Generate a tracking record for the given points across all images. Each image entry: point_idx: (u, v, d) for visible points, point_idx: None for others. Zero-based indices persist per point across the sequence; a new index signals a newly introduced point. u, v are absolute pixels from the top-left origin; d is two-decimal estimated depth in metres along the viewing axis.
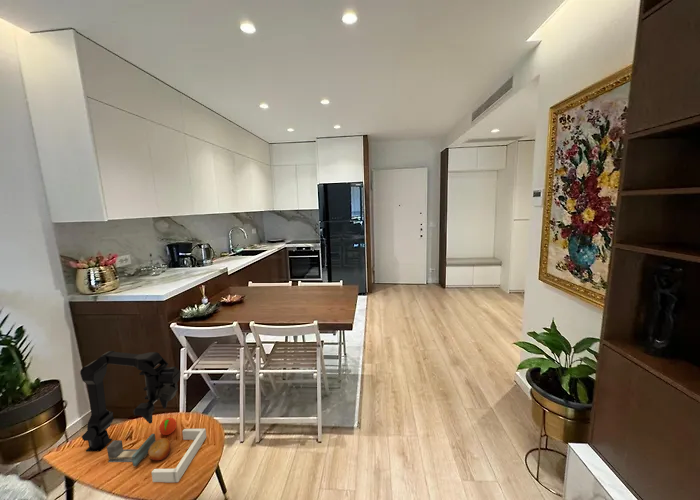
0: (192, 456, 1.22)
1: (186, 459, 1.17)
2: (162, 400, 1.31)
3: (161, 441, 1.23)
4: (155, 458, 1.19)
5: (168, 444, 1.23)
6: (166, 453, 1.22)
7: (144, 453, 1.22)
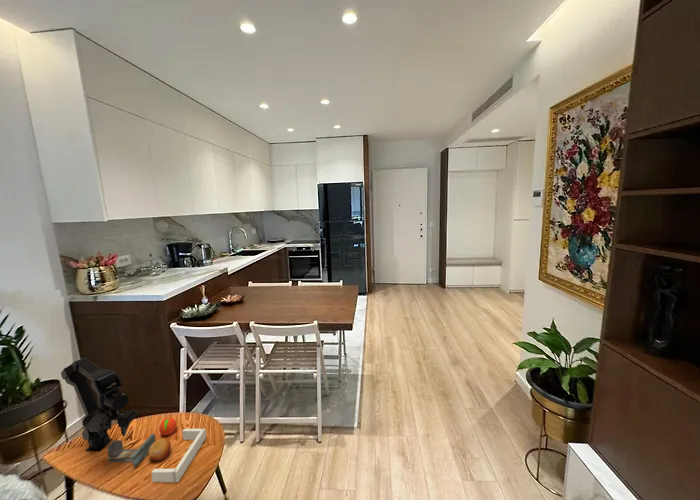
0: (192, 456, 1.22)
1: (186, 459, 1.17)
2: None
3: (161, 441, 1.23)
4: (155, 458, 1.19)
5: (168, 444, 1.23)
6: (166, 453, 1.22)
7: (144, 453, 1.22)
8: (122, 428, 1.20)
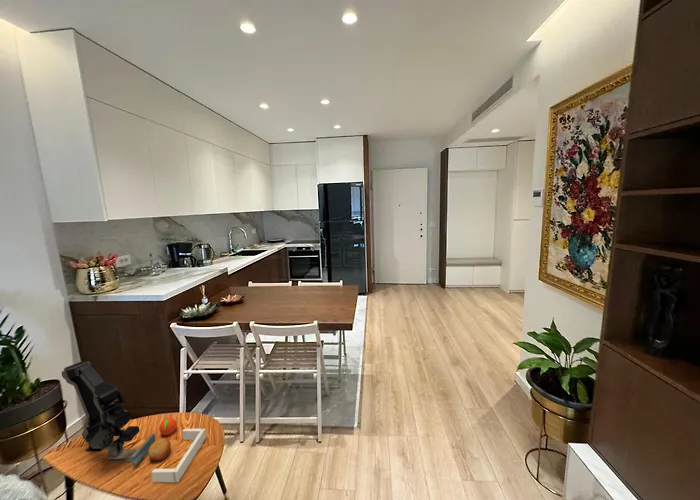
0: (192, 456, 1.22)
1: (186, 459, 1.17)
2: None
3: (161, 441, 1.23)
4: (155, 458, 1.19)
5: (168, 444, 1.23)
6: (166, 453, 1.22)
7: (144, 453, 1.22)
8: (118, 444, 1.21)
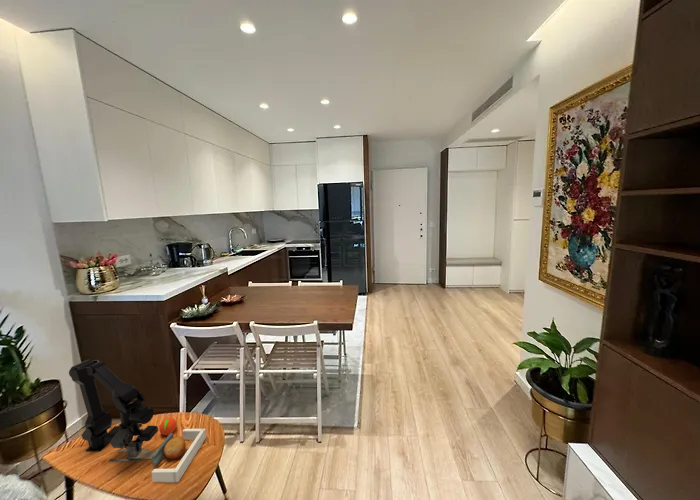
0: (192, 456, 1.22)
1: (186, 459, 1.17)
2: None
3: (177, 439, 1.24)
4: (172, 456, 1.20)
5: (184, 441, 1.24)
6: (183, 450, 1.23)
7: (163, 453, 1.22)
8: (137, 444, 1.21)
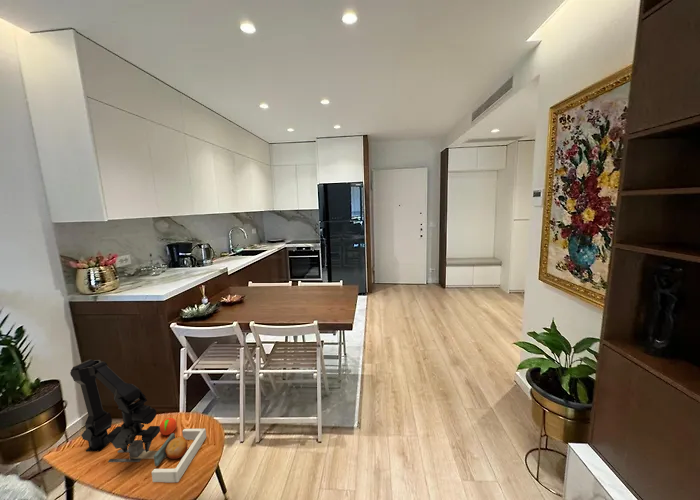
0: (192, 456, 1.22)
1: (186, 459, 1.17)
2: None
3: (179, 439, 1.24)
4: (174, 456, 1.20)
5: (185, 441, 1.24)
6: (185, 450, 1.23)
7: (165, 453, 1.22)
8: (146, 444, 1.21)
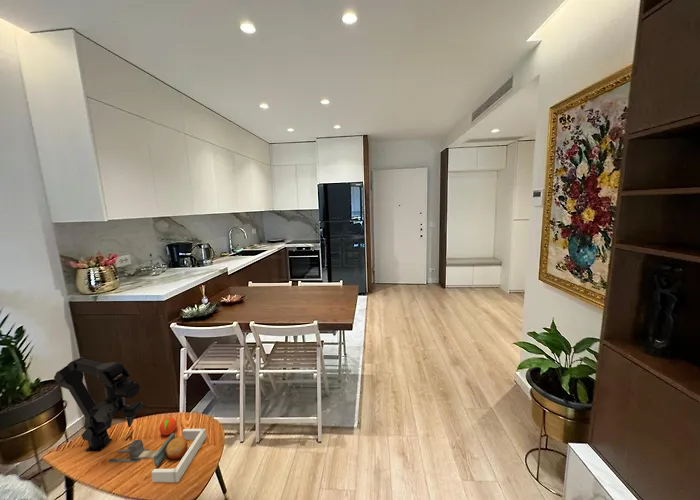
0: (192, 456, 1.22)
1: (186, 459, 1.17)
2: None
3: (179, 439, 1.24)
4: (174, 456, 1.20)
5: (185, 441, 1.24)
6: (185, 450, 1.23)
7: (165, 453, 1.22)
8: (128, 419, 1.23)
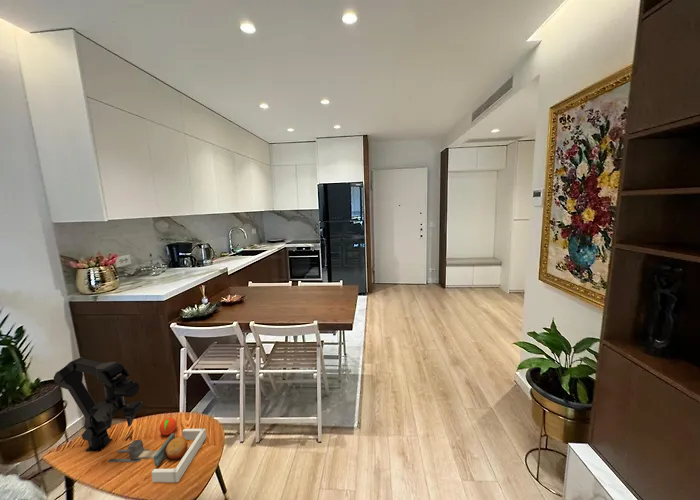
0: (192, 456, 1.22)
1: (186, 459, 1.17)
2: None
3: (179, 439, 1.24)
4: (174, 456, 1.20)
5: (185, 441, 1.24)
6: (185, 450, 1.23)
7: (165, 453, 1.22)
8: (128, 418, 1.23)
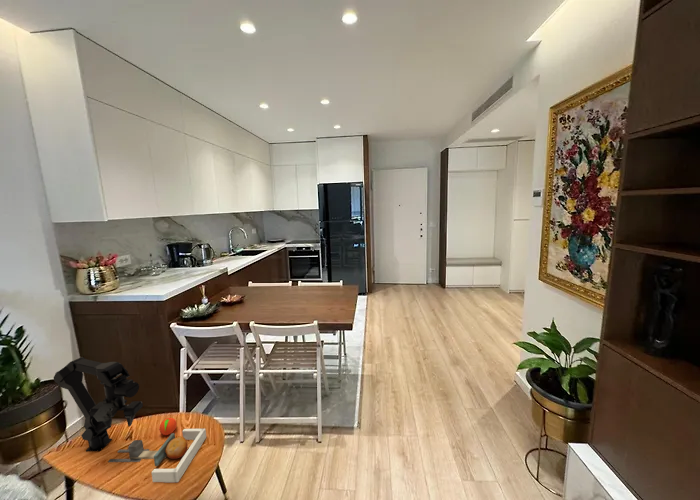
0: (192, 456, 1.22)
1: (186, 459, 1.17)
2: None
3: (179, 439, 1.24)
4: (174, 456, 1.20)
5: (185, 441, 1.24)
6: (185, 450, 1.23)
7: (165, 453, 1.22)
8: (128, 418, 1.23)
